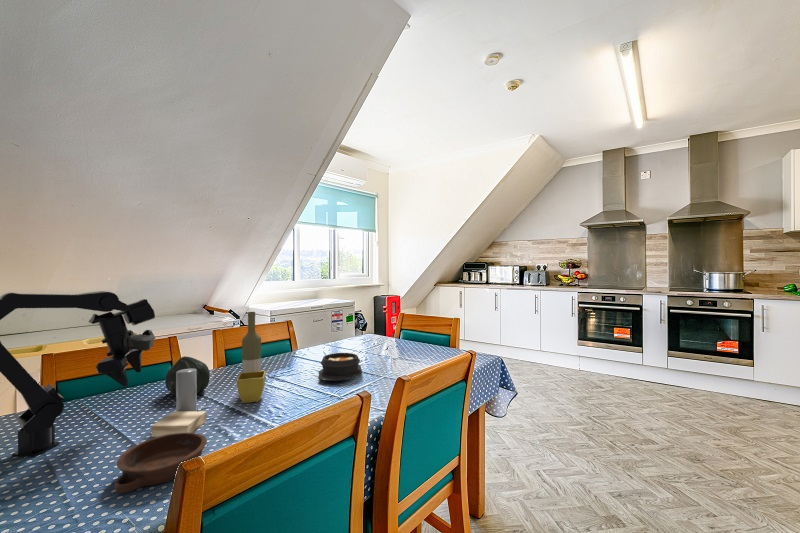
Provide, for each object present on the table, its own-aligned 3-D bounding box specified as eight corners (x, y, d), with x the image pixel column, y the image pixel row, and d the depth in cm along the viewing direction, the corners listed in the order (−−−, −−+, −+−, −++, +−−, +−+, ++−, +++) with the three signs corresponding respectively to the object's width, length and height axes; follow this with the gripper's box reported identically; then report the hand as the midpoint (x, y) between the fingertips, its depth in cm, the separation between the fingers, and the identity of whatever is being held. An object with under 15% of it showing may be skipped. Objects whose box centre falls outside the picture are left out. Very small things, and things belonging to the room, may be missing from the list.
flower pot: (236, 406, 122) (236, 379, 122) (240, 397, 131) (240, 372, 131) (263, 403, 125) (263, 377, 125) (266, 394, 133) (265, 370, 133)
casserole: (350, 387, 142) (350, 365, 142) (307, 383, 146) (306, 362, 146) (370, 369, 166) (370, 351, 166) (332, 366, 170) (332, 349, 170)
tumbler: (190, 418, 113) (190, 373, 113) (172, 418, 113) (172, 373, 113) (200, 411, 118) (200, 368, 118) (183, 411, 118) (182, 368, 118)
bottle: (258, 386, 143) (258, 310, 143) (264, 391, 137) (263, 312, 137) (239, 389, 138) (239, 311, 138) (244, 395, 133) (244, 313, 133)
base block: (187, 436, 101) (187, 425, 101) (151, 436, 101) (151, 425, 101) (206, 421, 111) (206, 411, 111) (173, 421, 111) (173, 411, 111)
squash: (210, 369, 148) (182, 345, 141) (223, 378, 137) (194, 353, 130) (180, 398, 141) (150, 375, 133) (192, 410, 130) (159, 386, 123)
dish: (228, 449, 94) (227, 430, 94) (158, 504, 72) (158, 479, 72) (169, 444, 97) (169, 425, 97) (85, 495, 75) (85, 471, 75)
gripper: (132, 335, 100) (150, 386, 103) (157, 315, 118) (171, 359, 121) (85, 346, 97) (105, 397, 101) (118, 324, 115) (134, 368, 119)
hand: (132, 378), depth 110 cm, fingers open, 9 cm apart
